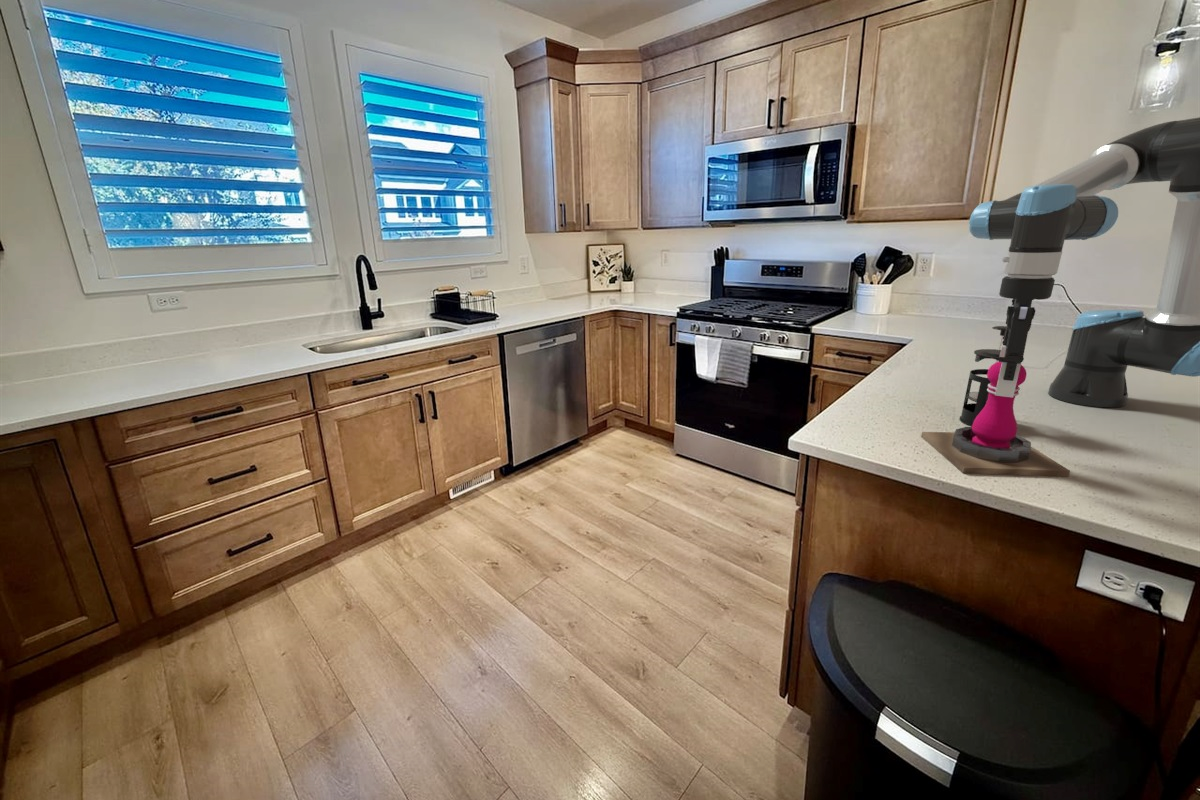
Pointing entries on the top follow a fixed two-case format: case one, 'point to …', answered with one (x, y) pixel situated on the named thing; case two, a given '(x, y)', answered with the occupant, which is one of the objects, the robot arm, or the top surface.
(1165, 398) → the top surface
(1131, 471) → the top surface
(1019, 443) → the iron collar
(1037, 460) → the collar plate
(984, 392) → the french press
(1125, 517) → the top surface
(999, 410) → the pepper mill
